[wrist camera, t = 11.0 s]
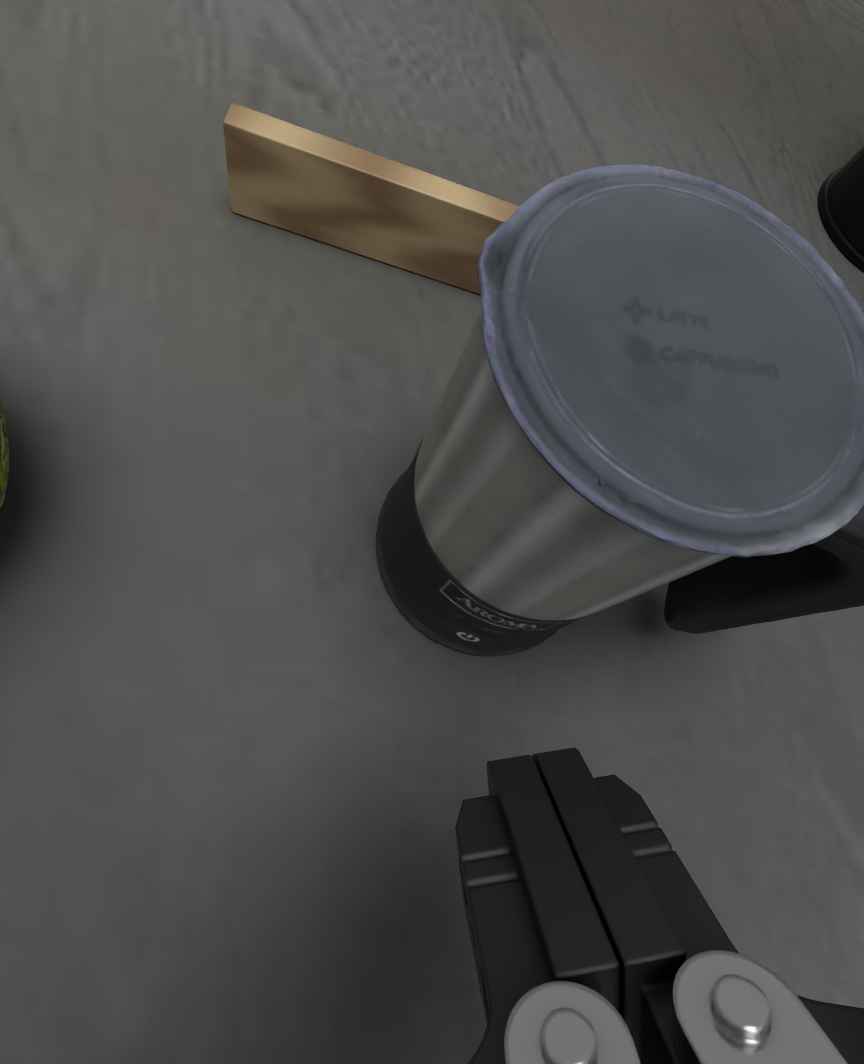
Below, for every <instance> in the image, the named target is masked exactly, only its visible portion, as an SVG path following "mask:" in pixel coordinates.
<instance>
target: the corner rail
mask: <svg viewBox="0 0 864 1064" xmlns="http://www.w3.org/2000/svg"><path fill="white" fill-rule="evenodd" d="M223 126H224V137H225V147H226V158H227V169H228V179H229V190H230V201H231V211H232V212H234V213H237V214H240V215H243V216H246V217H249V218H252V219H255V220H258V221H261V222H264V223H267V224H270V225H273V226H276V227H279V228H282V229H285V230H288V231H291V232H294V233H297V234H300V235H303V236H306V237H309V238H312V239H315V240H318V241H321V242H324V243H327V244H330V245H333V246H336V247H339V248H342V249H345V250H348V251H351V252H354V253H357V254H360V255H363V256H366V257H369V258H372V259H375V260H378V261H381V262H384V263H387V264H390V265H393V266H396V267H399V268H402V269H405V270H408V271H411V272H414V273H417V274H420V275H423V276H426V277H429V278H432V279H435V280H438V281H441V282H444V283H447V284H450V285H453V286H456V287H459V288H462V289H465V290H468V291H471V292H474V293H477V294H480V295H481V287H480V283H479V279H478V261H479V257H480V253H481V251H482V248H483V245H484V243H485V240H486V239H487V238H488V237H490V236H491V235H492V234H493V233H494V231H495V230H496V229H497V228H498V227H499V226H500V225H501V224H502V223H504V222H505V221H507V220H508V219H509V218H510V217H511V216H512V214H513V213H514V212H515V211H516V210H517V209H518V207H519V206H517V205H515V204H512V203H509V202H506V201H504V200H501V199H498V198H495V197H493V196H490V195H487V194H484V193H481V192H479V191H476V190H473V189H470V188H468V187H465V186H462V185H459V184H457V183H454V182H451V181H448V180H445V179H443V178H440V177H437V176H434V175H432V174H429V173H426V172H423V171H421V170H418V169H415V168H412V167H409V166H407V165H404V164H401V163H398V162H396V161H393V160H390V159H387V158H384V157H382V156H379V155H376V154H373V153H371V152H368V151H365V150H362V149H360V148H357V147H354V146H351V145H348V144H346V143H343V142H340V141H337V140H335V139H332V138H329V137H326V136H324V135H321V134H318V133H315V132H312V131H310V130H307V129H304V128H301V127H299V126H296V125H293V124H290V123H288V122H285V121H282V120H279V119H276V118H274V117H271V116H268V115H265V114H263V113H260V112H257V111H254V110H252V109H249V108H246V107H243V106H240V105H238V104H235V103H231V106H230V108H229V110H228V112H227V114H226V117H225V119H224V121H223Z"/></svg>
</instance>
